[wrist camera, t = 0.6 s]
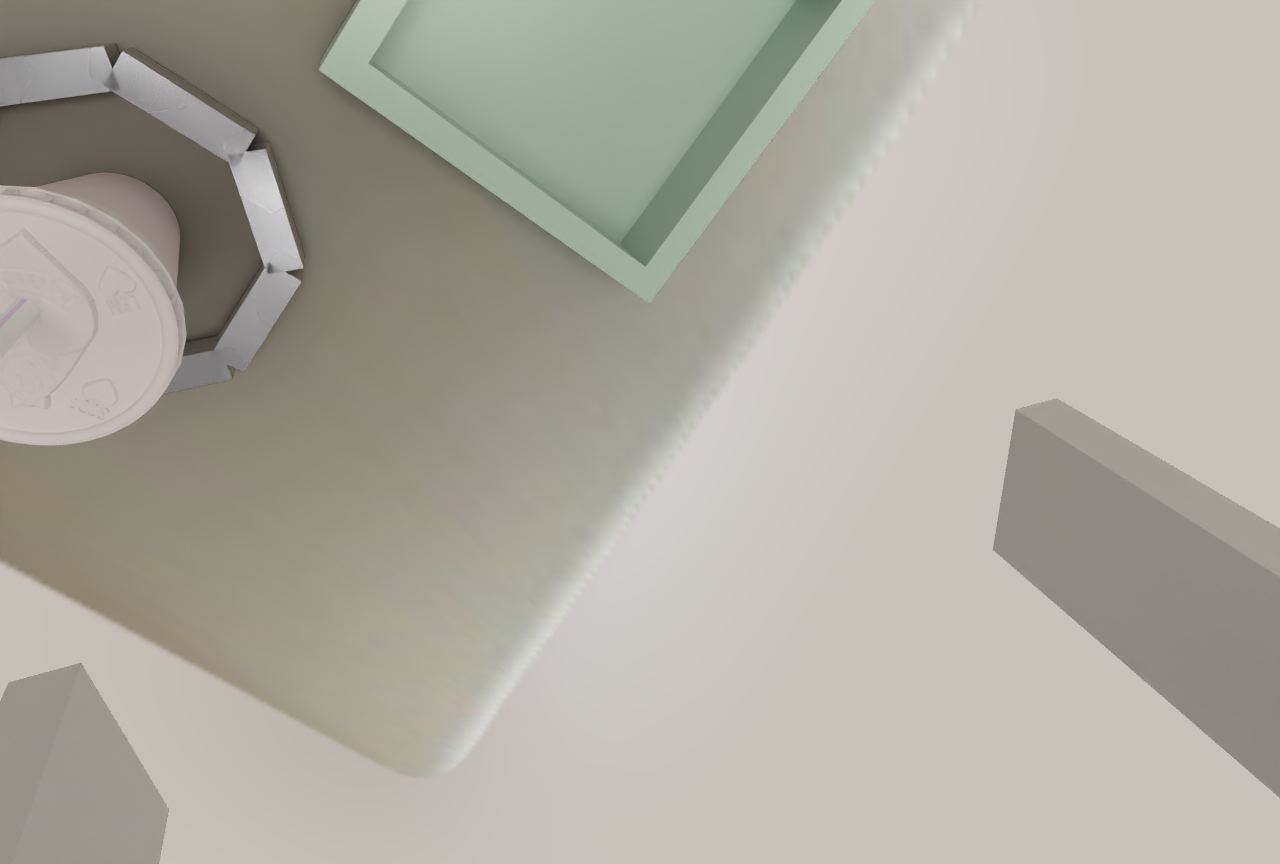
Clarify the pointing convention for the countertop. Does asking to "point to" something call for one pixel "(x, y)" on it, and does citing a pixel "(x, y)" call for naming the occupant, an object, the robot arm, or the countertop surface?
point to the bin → (595, 105)
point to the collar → (218, 134)
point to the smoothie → (86, 307)
